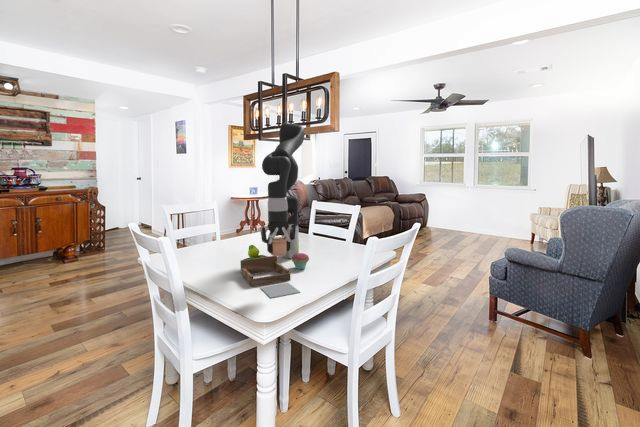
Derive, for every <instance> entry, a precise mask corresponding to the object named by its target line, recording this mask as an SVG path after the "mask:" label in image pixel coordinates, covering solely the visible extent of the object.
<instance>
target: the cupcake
mask: <svg viewBox="0 0 640 427" xmlns="http://www.w3.org/2000/svg"><path fill="white" fill-rule="evenodd" d="M296 247H297V253H298V254H295V255H293V256H292V257H291V258H290V259H291V261H292V263H293V264H294V267H295V269H297V270H304V269H306V267H307V263H308V262H309V260H310V256H309V255H308V254H306V253H301V252H300V250H299V251H298V245H297V243H296Z"/></svg>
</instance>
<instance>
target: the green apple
mask: <svg viewBox="0 0 640 427" xmlns="http://www.w3.org/2000/svg"><path fill="white" fill-rule="evenodd" d="M259 253H260V250H259V248H258V247H257V246H256V245H254V244H250V245H248V251H247V255H248V257H246V258H244V259H242V260H247V259H254V258H261V257H269V256H268V255H264V254H259Z"/></svg>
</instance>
